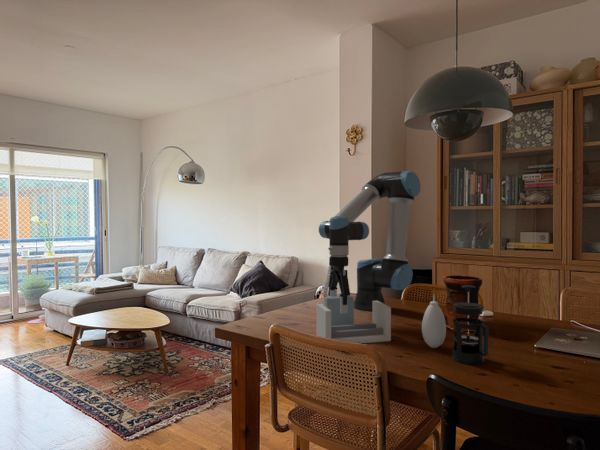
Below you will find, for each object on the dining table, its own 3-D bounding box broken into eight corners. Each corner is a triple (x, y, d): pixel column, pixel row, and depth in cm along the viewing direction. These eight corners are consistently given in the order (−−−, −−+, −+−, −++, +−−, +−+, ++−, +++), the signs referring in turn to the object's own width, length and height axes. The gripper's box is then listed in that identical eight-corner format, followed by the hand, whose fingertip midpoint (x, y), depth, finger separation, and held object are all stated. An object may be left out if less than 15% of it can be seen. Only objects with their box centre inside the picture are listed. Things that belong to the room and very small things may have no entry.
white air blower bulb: (421, 349, 143) (421, 295, 142) (421, 342, 150) (421, 291, 150) (446, 351, 141) (446, 296, 140) (445, 344, 148) (445, 292, 148)
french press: (443, 357, 135) (443, 284, 135) (463, 352, 140) (463, 281, 140) (476, 369, 125) (477, 290, 125) (496, 362, 130) (496, 287, 130)
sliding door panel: (350, 325, 175) (350, 295, 174) (354, 327, 171) (353, 297, 171) (324, 327, 172) (324, 297, 172) (327, 329, 168) (327, 298, 168)
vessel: (435, 323, 176) (436, 274, 175) (466, 322, 179) (468, 274, 178) (454, 333, 162) (456, 280, 161) (488, 331, 165) (490, 279, 164)
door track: (377, 331, 165) (377, 300, 164) (390, 340, 153) (390, 307, 153) (316, 336, 159) (316, 303, 159) (325, 346, 148) (325, 311, 147)
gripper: (321, 253, 182) (320, 303, 182) (339, 259, 158) (339, 317, 158) (338, 253, 184) (337, 302, 184) (359, 258, 159) (358, 316, 160)
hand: (338, 309), depth 171 cm, fingers open, 13 cm apart
